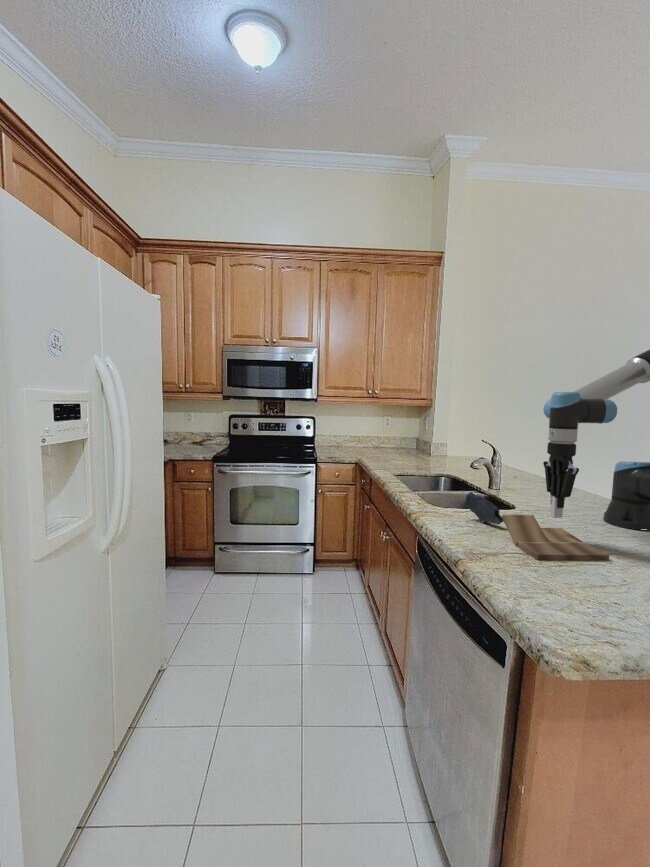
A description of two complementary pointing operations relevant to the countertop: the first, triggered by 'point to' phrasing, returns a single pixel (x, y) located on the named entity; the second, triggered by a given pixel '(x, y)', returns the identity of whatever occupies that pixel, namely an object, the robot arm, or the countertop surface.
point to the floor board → (562, 551)
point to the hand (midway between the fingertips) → (556, 516)
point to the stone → (483, 509)
